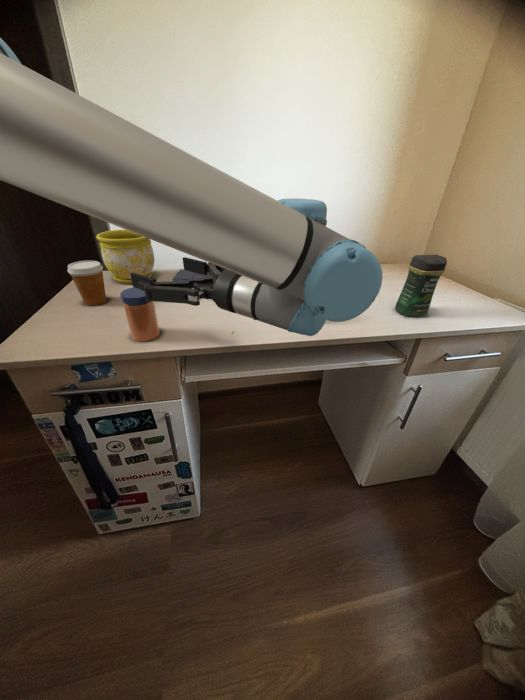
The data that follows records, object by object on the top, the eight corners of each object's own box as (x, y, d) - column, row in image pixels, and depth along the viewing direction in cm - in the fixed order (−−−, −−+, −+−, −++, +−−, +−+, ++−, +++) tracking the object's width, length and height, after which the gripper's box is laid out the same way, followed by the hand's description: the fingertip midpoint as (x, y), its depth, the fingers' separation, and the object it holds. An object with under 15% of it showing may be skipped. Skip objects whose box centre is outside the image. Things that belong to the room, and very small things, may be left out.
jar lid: (115, 303, 67) (113, 296, 66) (132, 292, 73) (130, 285, 72) (144, 306, 66) (142, 299, 65) (158, 294, 72) (157, 288, 71)
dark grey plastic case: (168, 294, 95) (167, 283, 93) (180, 275, 121) (179, 267, 120) (240, 293, 98) (240, 283, 96) (237, 275, 124) (237, 267, 123)
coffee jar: (405, 319, 88) (427, 259, 78) (390, 308, 95) (408, 252, 85) (431, 316, 91) (455, 258, 80) (414, 306, 97) (434, 251, 87)
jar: (126, 339, 73) (115, 298, 66) (140, 327, 78) (131, 287, 72) (151, 342, 72) (142, 301, 65) (164, 329, 78) (157, 290, 71)
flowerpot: (149, 287, 103) (140, 240, 94) (99, 285, 103) (85, 238, 94) (163, 271, 118) (157, 230, 109) (120, 270, 118) (110, 228, 109)
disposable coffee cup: (79, 298, 93) (67, 261, 86) (111, 294, 97) (101, 259, 90) (77, 309, 86) (64, 270, 79) (112, 305, 89) (101, 267, 83)
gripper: (195, 341, 43) (111, 307, 53) (275, 292, 61) (202, 273, 70) (190, 295, 39) (100, 267, 49) (277, 257, 57) (199, 241, 66)
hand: (160, 270), depth 60 cm, fingers open, 13 cm apart
